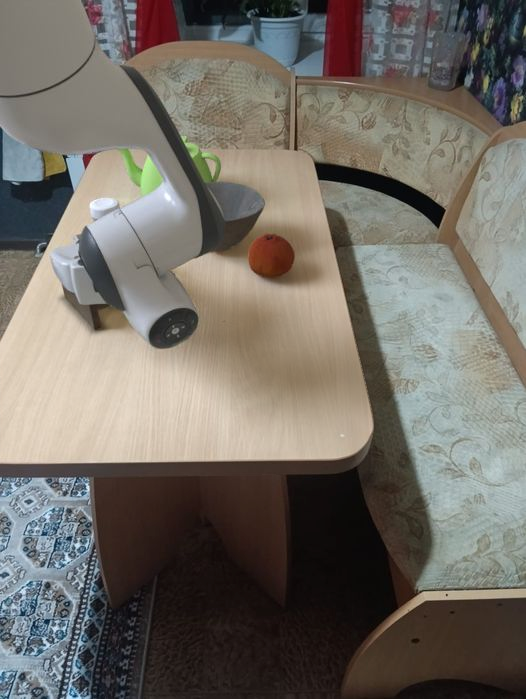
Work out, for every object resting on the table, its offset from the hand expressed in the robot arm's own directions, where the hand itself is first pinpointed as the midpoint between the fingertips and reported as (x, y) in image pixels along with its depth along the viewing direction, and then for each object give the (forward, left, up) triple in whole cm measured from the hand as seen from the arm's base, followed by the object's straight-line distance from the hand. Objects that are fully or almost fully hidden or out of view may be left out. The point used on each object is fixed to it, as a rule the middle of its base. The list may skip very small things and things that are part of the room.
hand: (106, 232), depth 88 cm
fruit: (+29, -5, -13) cm, 32 cm away
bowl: (+25, +10, -13) cm, 30 cm away
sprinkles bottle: (0, 0, -8) cm, 8 cm away
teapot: (+24, +34, -13) cm, 44 cm away
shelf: (+1, 0, -13) cm, 13 cm away
